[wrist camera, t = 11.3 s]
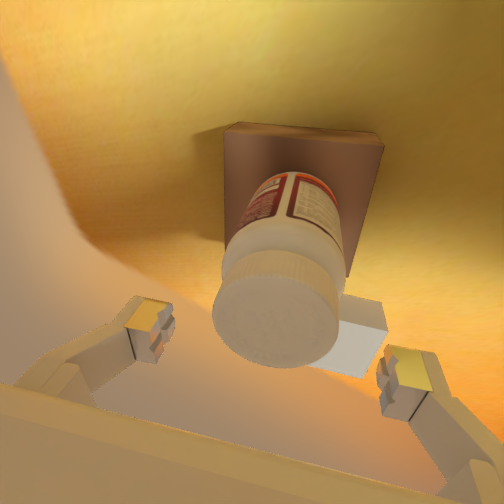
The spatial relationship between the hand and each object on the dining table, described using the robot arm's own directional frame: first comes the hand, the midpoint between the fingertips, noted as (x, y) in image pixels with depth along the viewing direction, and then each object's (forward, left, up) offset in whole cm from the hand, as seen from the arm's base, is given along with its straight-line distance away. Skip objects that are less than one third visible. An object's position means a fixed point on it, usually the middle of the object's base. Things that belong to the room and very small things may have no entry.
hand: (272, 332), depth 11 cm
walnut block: (0, 0, -16) cm, 16 cm away
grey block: (-6, +14, -16) cm, 22 cm away
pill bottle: (0, 0, -12) cm, 12 cm away
